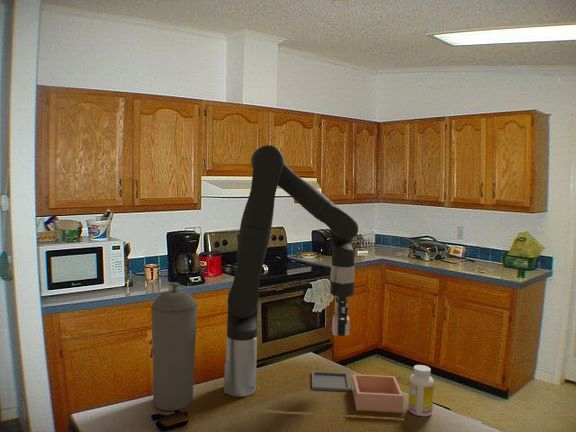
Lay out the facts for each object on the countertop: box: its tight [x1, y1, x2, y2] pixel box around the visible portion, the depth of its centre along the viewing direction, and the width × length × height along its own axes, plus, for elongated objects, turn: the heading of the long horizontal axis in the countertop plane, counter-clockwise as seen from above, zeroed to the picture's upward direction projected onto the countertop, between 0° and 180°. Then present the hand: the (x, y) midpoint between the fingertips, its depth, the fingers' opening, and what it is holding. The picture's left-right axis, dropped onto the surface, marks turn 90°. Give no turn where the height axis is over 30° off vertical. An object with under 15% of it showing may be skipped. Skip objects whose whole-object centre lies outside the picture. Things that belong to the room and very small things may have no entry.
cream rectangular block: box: [331, 315, 351, 336], centre depth 143 cm, size 5×4×5 cm
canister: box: [150, 281, 198, 412], centre depth 129 cm, size 13×13×35 cm
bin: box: [351, 373, 404, 414], centre depth 134 cm, size 13×13×6 cm
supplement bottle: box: [408, 364, 435, 417], centre depth 129 cm, size 7×7×13 cm
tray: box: [311, 370, 352, 393], centre depth 146 cm, size 12×12×1 cm
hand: (340, 332), depth 143 cm, fingers closed on cream rectangular block, 4 cm apart
